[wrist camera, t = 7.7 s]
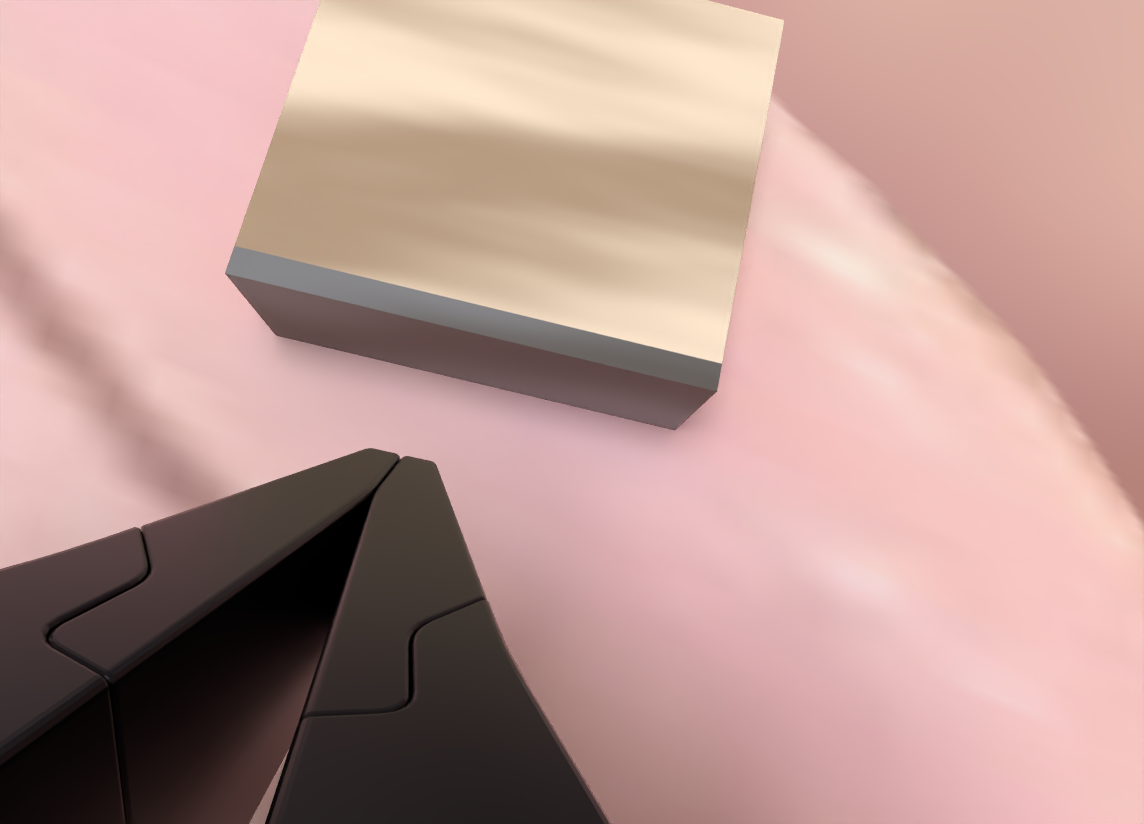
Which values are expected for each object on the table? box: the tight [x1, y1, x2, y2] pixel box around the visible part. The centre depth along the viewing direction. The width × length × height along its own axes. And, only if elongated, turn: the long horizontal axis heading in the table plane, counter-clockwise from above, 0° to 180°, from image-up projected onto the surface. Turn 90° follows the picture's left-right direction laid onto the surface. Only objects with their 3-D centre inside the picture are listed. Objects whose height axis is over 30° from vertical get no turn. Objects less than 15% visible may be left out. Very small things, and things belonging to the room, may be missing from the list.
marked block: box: [225, 0, 784, 430], centre depth 19 cm, size 4×10×9 cm
